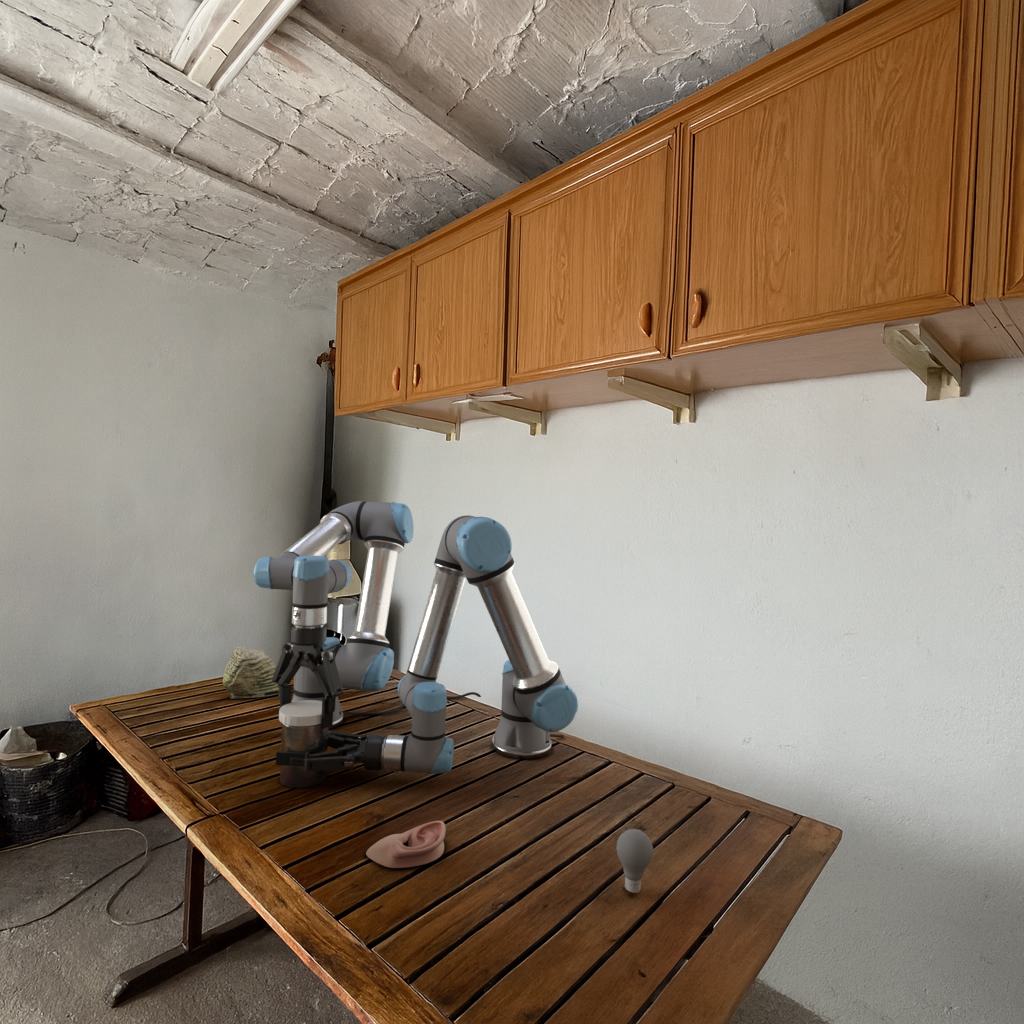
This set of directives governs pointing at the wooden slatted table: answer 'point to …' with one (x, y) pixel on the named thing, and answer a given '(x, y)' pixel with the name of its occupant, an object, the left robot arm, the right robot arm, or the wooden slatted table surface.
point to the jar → (302, 741)
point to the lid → (301, 713)
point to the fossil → (250, 674)
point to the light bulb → (634, 857)
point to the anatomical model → (410, 846)
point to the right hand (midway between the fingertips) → (285, 748)
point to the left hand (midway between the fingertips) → (305, 720)
